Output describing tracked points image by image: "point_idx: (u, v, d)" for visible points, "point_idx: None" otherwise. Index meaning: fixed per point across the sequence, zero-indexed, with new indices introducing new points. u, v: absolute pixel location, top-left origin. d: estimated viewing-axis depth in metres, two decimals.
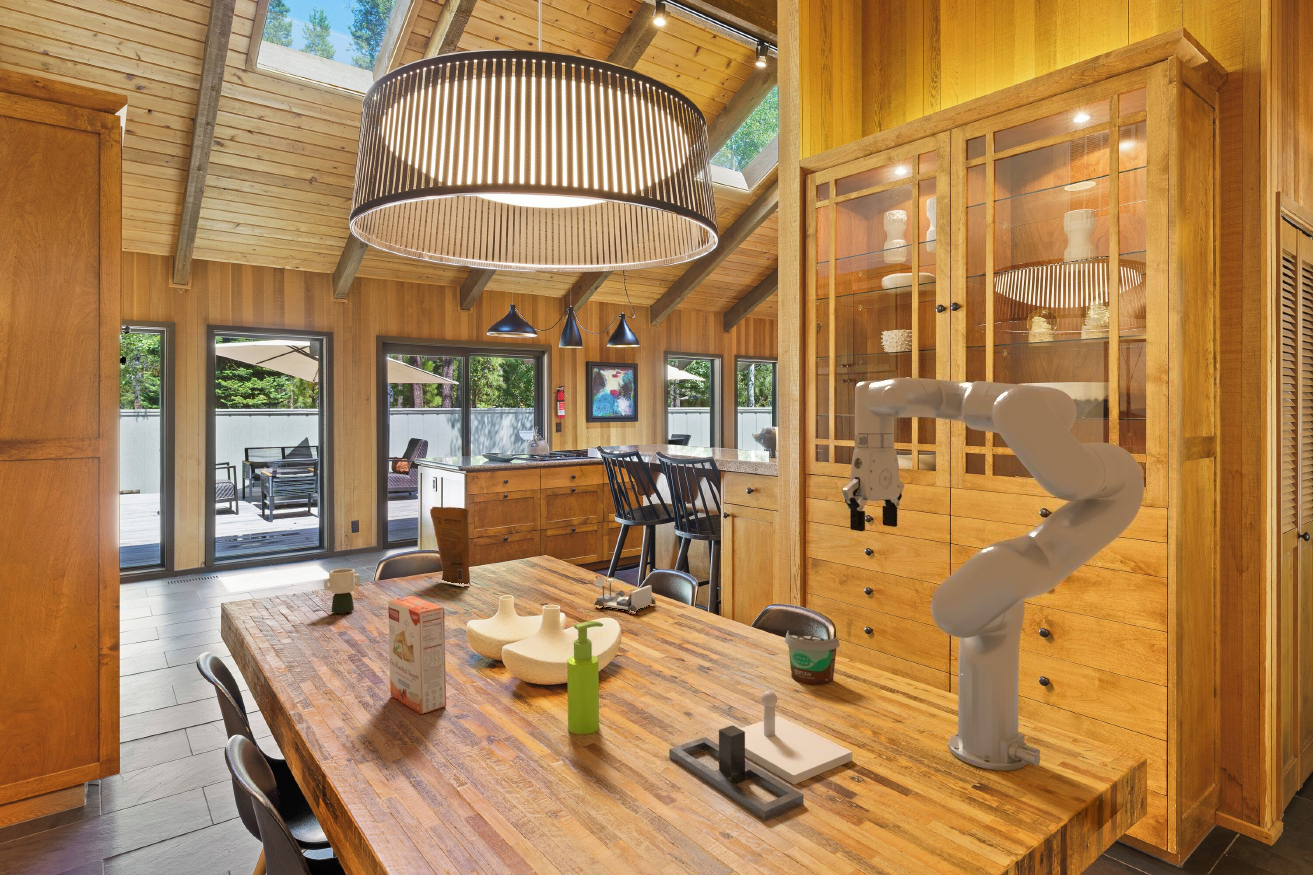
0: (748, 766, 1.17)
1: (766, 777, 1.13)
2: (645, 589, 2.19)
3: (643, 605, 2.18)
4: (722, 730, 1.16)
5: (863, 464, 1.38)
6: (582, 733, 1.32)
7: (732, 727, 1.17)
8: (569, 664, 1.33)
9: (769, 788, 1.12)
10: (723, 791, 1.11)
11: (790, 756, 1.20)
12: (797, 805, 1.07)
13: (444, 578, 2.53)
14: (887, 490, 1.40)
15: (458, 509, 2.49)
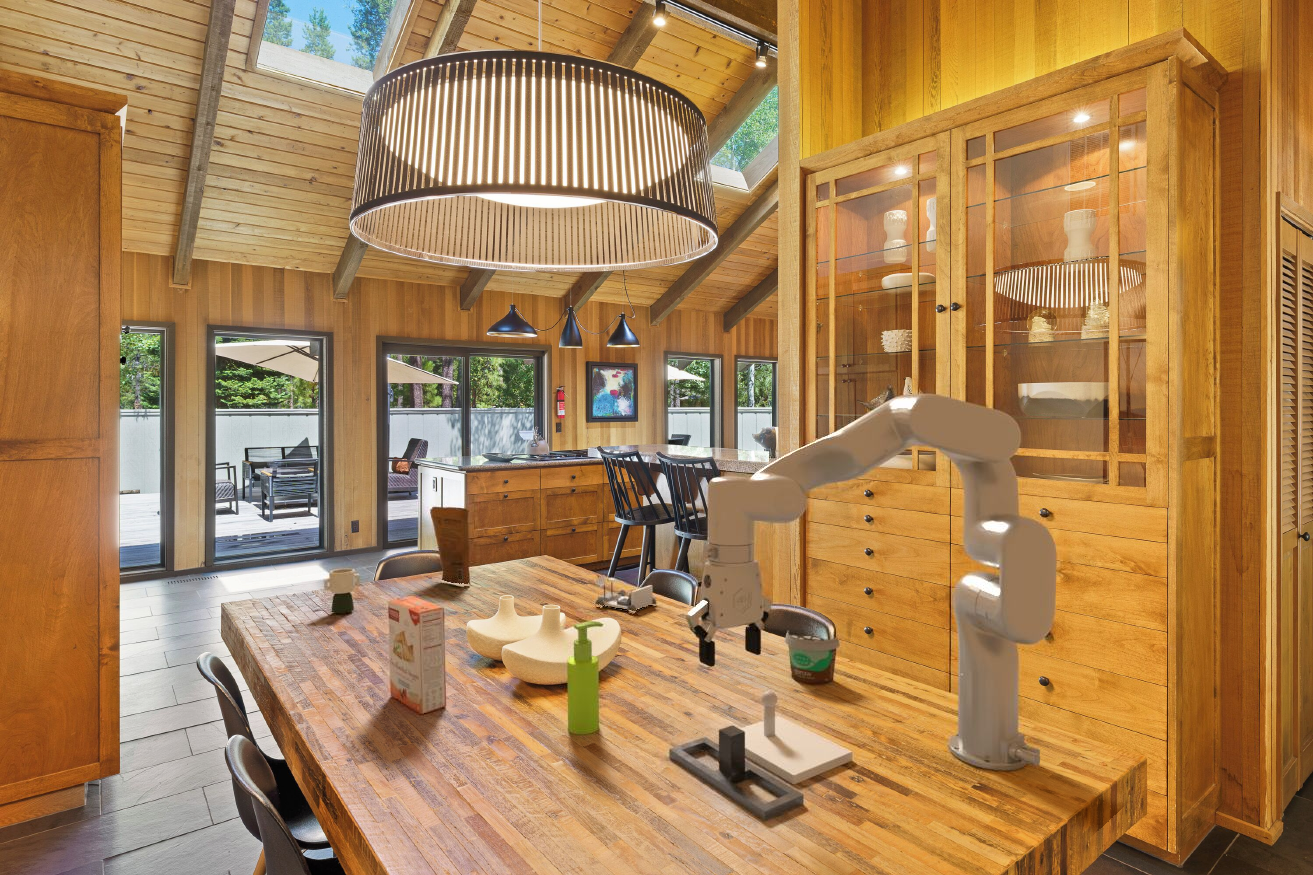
0: (748, 766, 1.17)
1: (766, 777, 1.13)
2: (645, 589, 2.19)
3: (643, 605, 2.19)
4: (722, 730, 1.16)
5: (712, 583, 1.11)
6: (582, 733, 1.32)
7: (732, 727, 1.17)
8: (569, 664, 1.33)
9: (769, 788, 1.12)
10: (723, 791, 1.11)
11: (790, 756, 1.20)
12: (797, 805, 1.07)
13: (444, 578, 2.53)
14: (744, 614, 1.13)
15: (458, 509, 2.49)
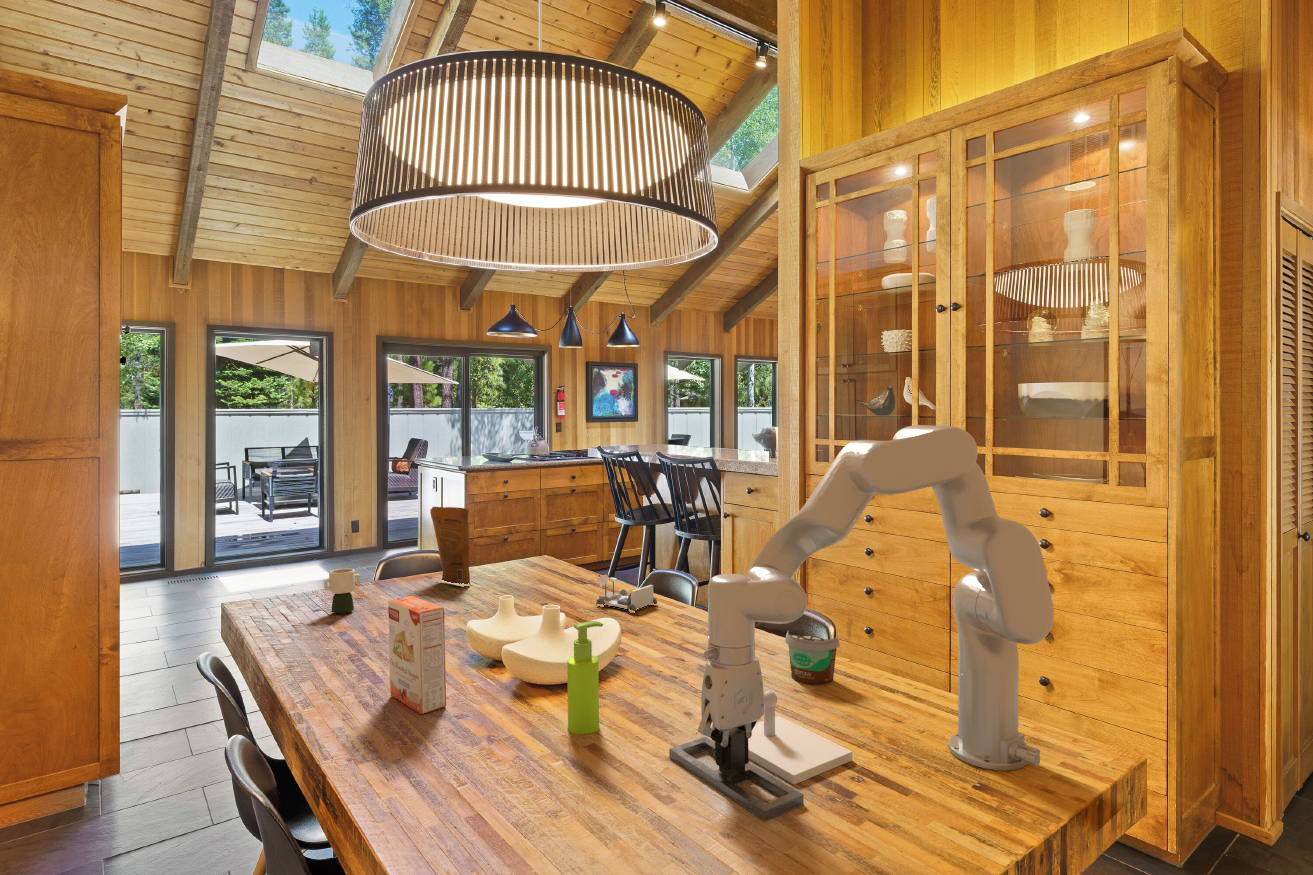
0: (748, 766, 1.17)
1: (766, 777, 1.13)
2: (646, 588, 2.20)
3: (643, 604, 2.19)
4: None
5: (713, 685, 1.11)
6: (582, 733, 1.32)
7: None
8: (569, 664, 1.33)
9: (769, 788, 1.12)
10: (723, 791, 1.11)
11: (790, 756, 1.20)
12: (797, 805, 1.07)
13: (444, 578, 2.53)
14: (745, 714, 1.13)
15: (458, 509, 2.49)
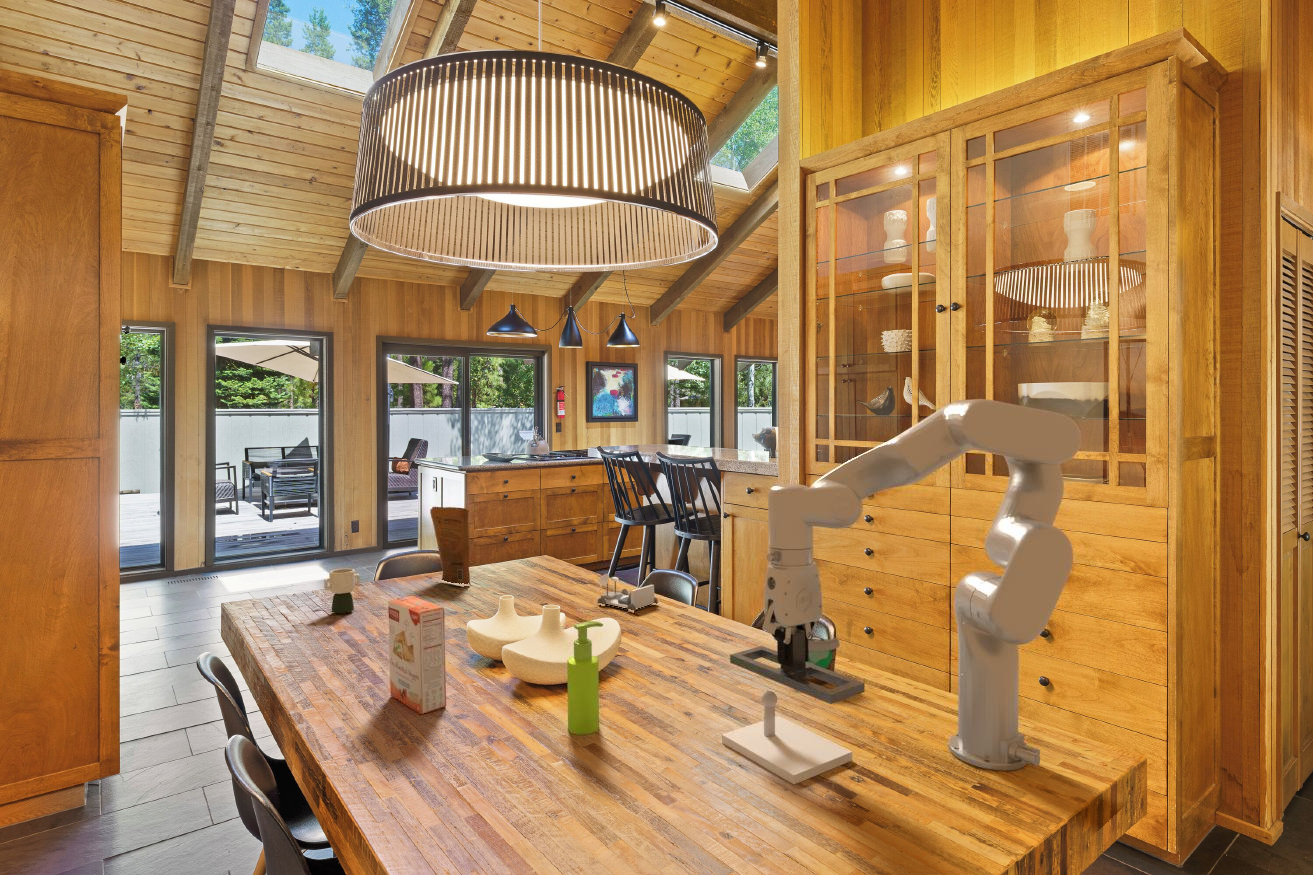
0: (807, 665, 1.24)
1: (826, 672, 1.21)
2: (646, 588, 2.20)
3: (644, 604, 2.19)
4: (783, 630, 1.23)
5: (777, 585, 1.19)
6: (582, 733, 1.32)
7: (792, 628, 1.24)
8: (569, 664, 1.33)
9: (830, 681, 1.19)
10: (787, 684, 1.19)
11: (790, 756, 1.20)
12: (859, 692, 1.15)
13: (444, 578, 2.53)
14: (806, 613, 1.21)
15: (458, 509, 2.49)
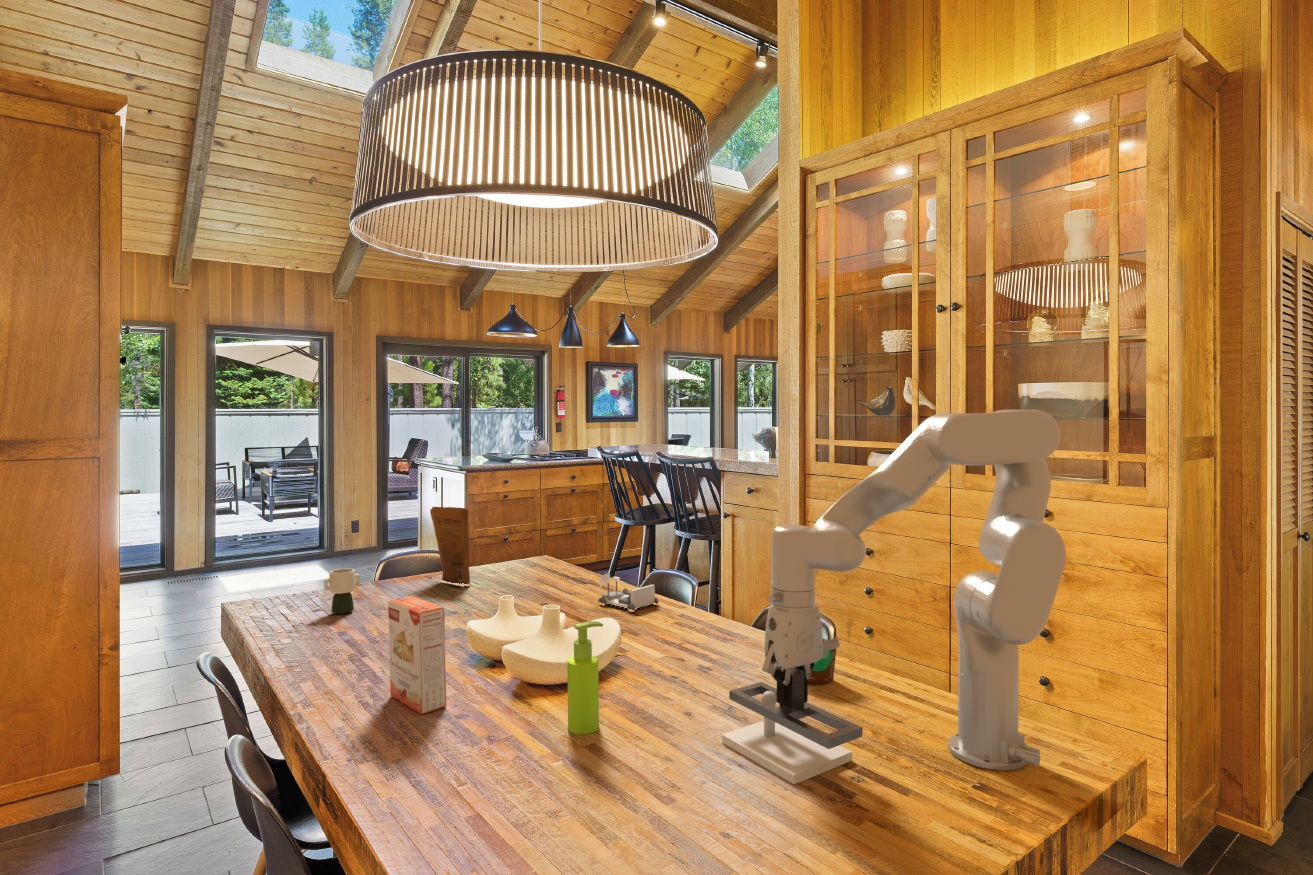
0: (806, 705, 1.25)
1: (825, 713, 1.21)
2: (647, 588, 2.20)
3: (644, 604, 2.20)
4: (783, 670, 1.23)
5: (778, 626, 1.19)
6: (582, 733, 1.32)
7: (792, 668, 1.24)
8: (569, 664, 1.33)
9: (828, 723, 1.20)
10: (785, 725, 1.19)
11: (790, 756, 1.20)
12: (857, 737, 1.15)
13: (444, 578, 2.53)
14: (806, 654, 1.21)
15: (458, 509, 2.49)
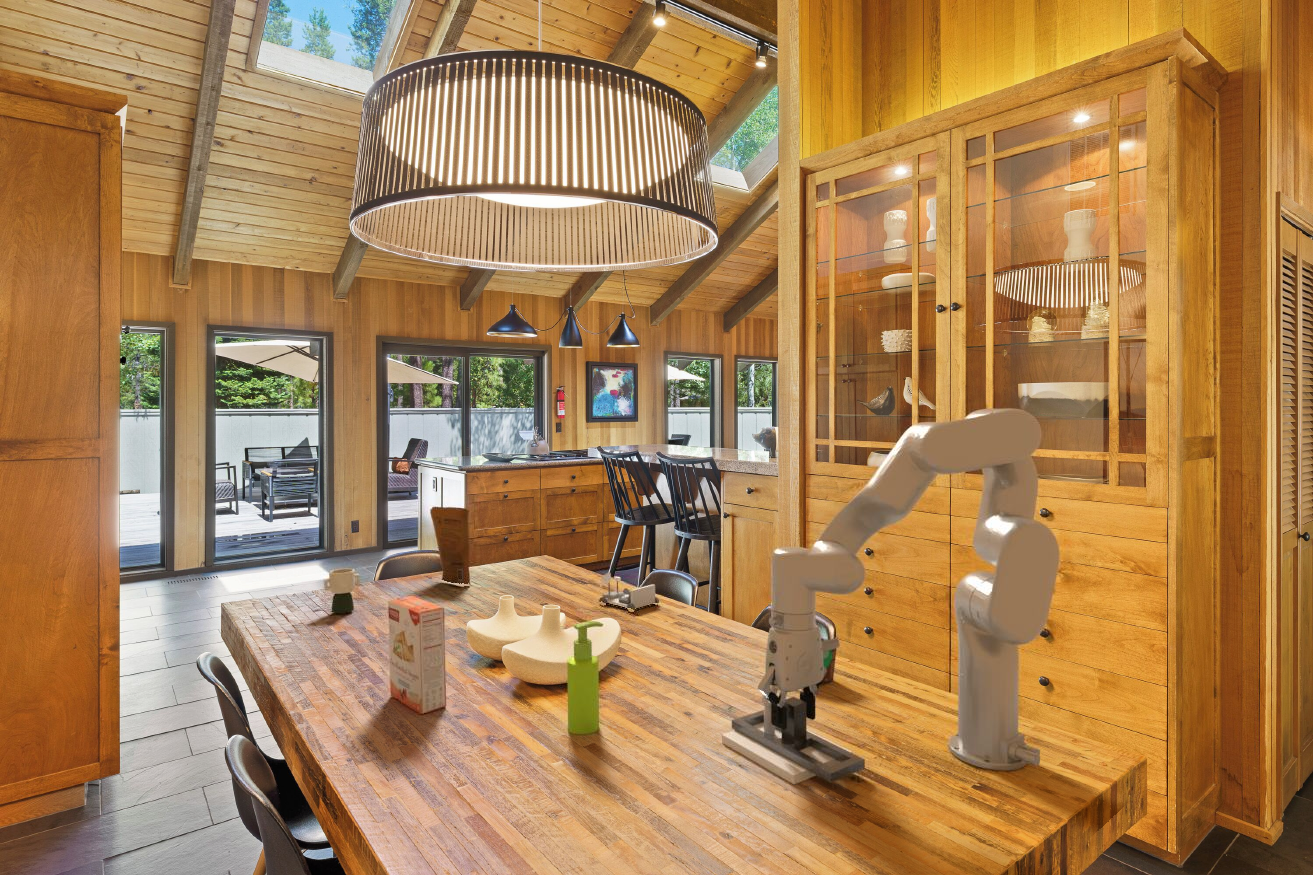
0: (808, 735, 1.25)
1: (827, 744, 1.21)
2: (647, 588, 2.21)
3: (644, 604, 2.20)
4: (785, 701, 1.24)
5: (778, 649, 1.19)
6: (582, 733, 1.32)
7: (794, 699, 1.24)
8: (569, 664, 1.33)
9: (830, 754, 1.20)
10: (788, 757, 1.19)
11: None
12: (859, 769, 1.15)
13: (444, 578, 2.53)
14: (807, 676, 1.21)
15: (458, 509, 2.49)
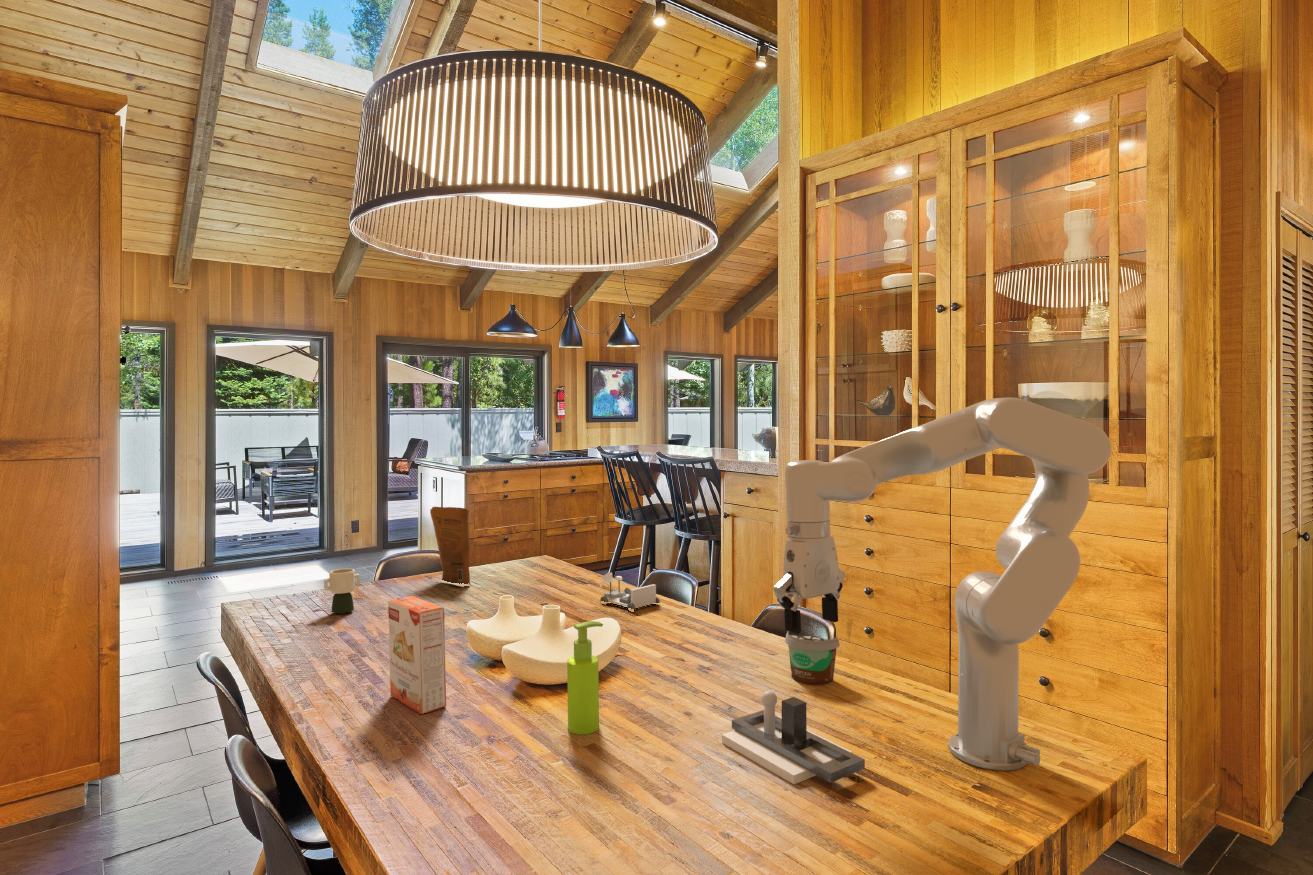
0: (808, 735, 1.25)
1: (827, 744, 1.21)
2: (647, 588, 2.21)
3: (645, 603, 2.20)
4: (785, 701, 1.24)
5: (796, 557, 1.22)
6: (582, 733, 1.32)
7: (794, 699, 1.24)
8: (569, 664, 1.33)
9: (830, 754, 1.20)
10: (788, 757, 1.19)
11: None
12: (859, 769, 1.15)
13: (444, 578, 2.53)
14: (824, 584, 1.24)
15: (458, 509, 2.49)
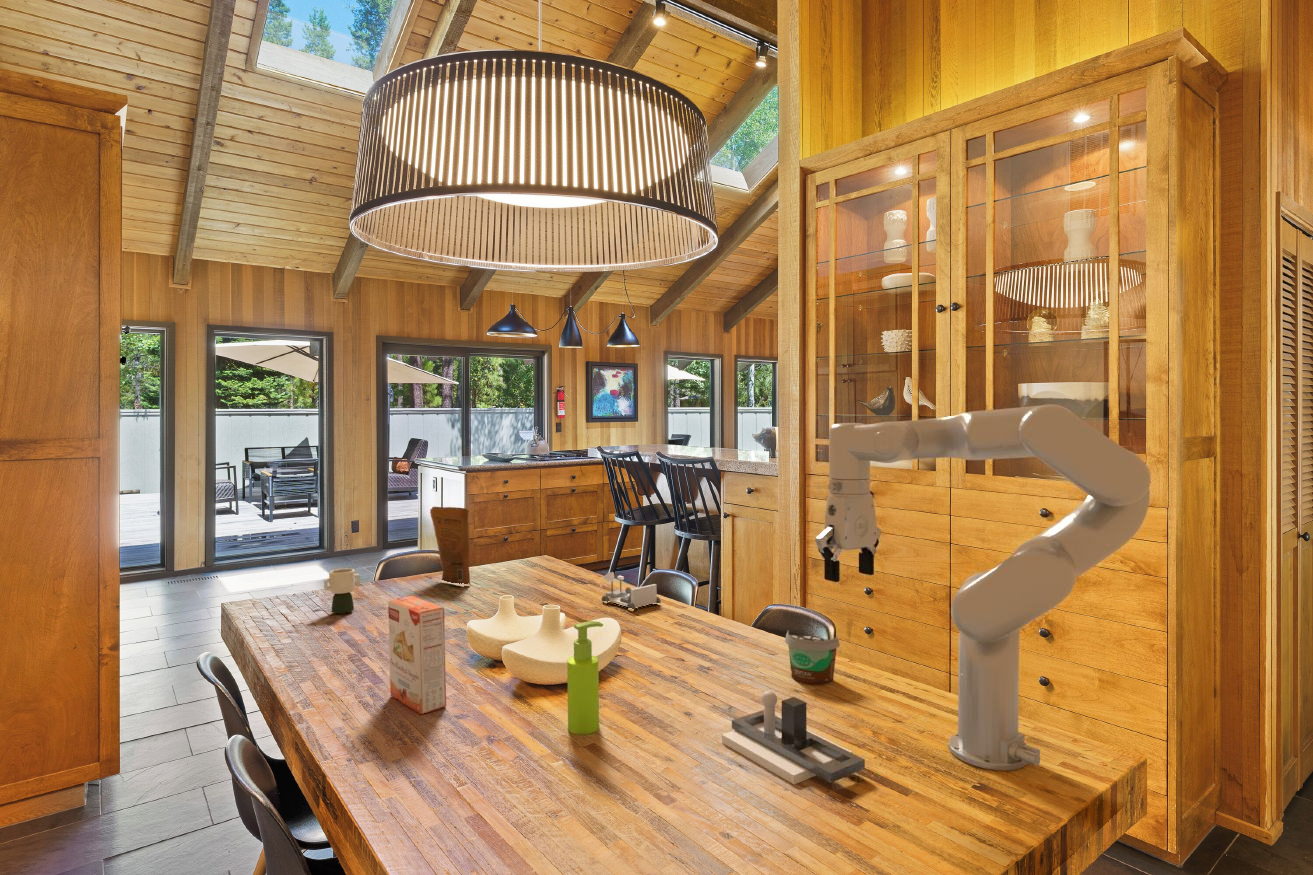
0: (808, 735, 1.25)
1: (827, 744, 1.21)
2: (648, 587, 2.21)
3: (645, 603, 2.20)
4: (785, 701, 1.24)
5: (837, 511, 1.31)
6: (582, 733, 1.32)
7: (794, 699, 1.24)
8: (569, 664, 1.33)
9: (830, 754, 1.20)
10: (788, 757, 1.19)
11: None
12: (859, 769, 1.15)
13: (444, 578, 2.53)
14: (863, 538, 1.33)
15: (458, 509, 2.49)
